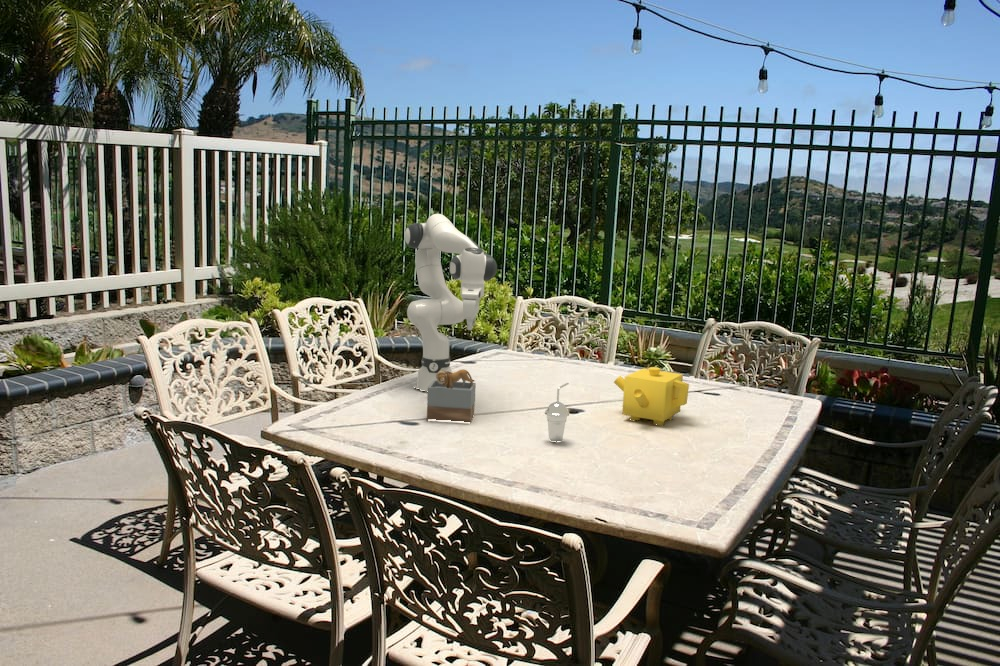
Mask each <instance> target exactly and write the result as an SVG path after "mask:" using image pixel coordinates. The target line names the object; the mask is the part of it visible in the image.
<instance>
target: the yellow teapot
mask: <svg viewBox="0 0 1000 666" xmlns="http://www.w3.org/2000/svg"><path fill="white" fill-rule="evenodd" d="M683 377H684V375H683V374H682V373H677V372H676V373H675V372H670V371H664V370H662V371H661V367H657V366H649V367H648V368H645V367H644V368H642V369H639V370H636V371H634V372H632V373H630V374H628V375H626V376H624V378H623V376H621V375H620V376H618V377H617V378H615V380H614V381H613V383H614V384H615V386H617V387H618V388H619V389H620V390H621V391H622V392H623V397H622V412H621V414H622V415H624V416H629V418H630V419H631V420H639V421H640V420H641V419H646V420H651V421H653V423H654V424H657V425H656V426H658V425H663V424H664V425H665V421H668V420H667V419H672V418H673V417H674V415H677V414H678V413H679V412H681V407H682V406H685V405H687V404H688V395H689V387H690V384H689V383H687V382H684V381H683V380H684V379H683ZM631 420H630V421H631ZM654 424H653V425H654ZM664 425H663V426H664Z"/></svg>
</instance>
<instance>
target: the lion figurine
mask: <svg viewBox="0 0 1000 666" xmlns="http://www.w3.org/2000/svg"><path fill="white" fill-rule="evenodd" d="M436 378H437V381H438V383H439V384H442V385H444V386H446V387H447V388H450V389H453V387H452V384H453V383H454V382H460V380H462V382H463V383H462V384H461V386H463V385H464V384H465V382H468V383H471V384H470V386H473V383H475V379H473V378H472V375H471V374H470V371H468V370H467V369H459V370H457V371H455V372H453V373H450V372H448V371H439V372H438V373H437V375H436Z"/></svg>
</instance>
